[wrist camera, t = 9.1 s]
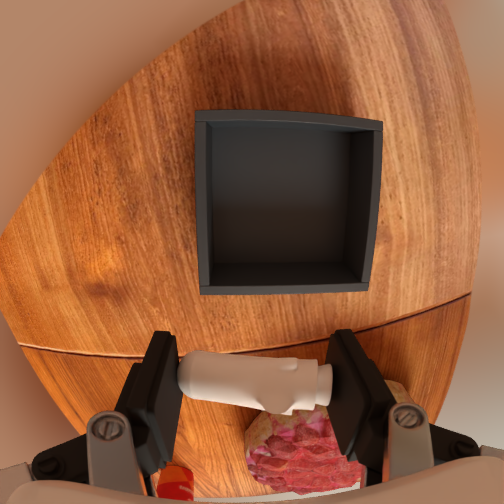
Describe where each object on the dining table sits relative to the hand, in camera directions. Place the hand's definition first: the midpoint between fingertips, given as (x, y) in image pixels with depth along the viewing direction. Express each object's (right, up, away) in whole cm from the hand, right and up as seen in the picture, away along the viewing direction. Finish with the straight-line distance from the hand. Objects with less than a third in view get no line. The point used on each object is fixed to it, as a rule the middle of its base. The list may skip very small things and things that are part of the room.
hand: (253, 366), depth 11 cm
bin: (+3, +9, +15) cm, 18 cm away
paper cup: (-13, -34, +29) cm, 46 cm away
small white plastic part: (0, 0, +1) cm, 1 cm away
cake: (+11, -21, +26) cm, 35 cm away
